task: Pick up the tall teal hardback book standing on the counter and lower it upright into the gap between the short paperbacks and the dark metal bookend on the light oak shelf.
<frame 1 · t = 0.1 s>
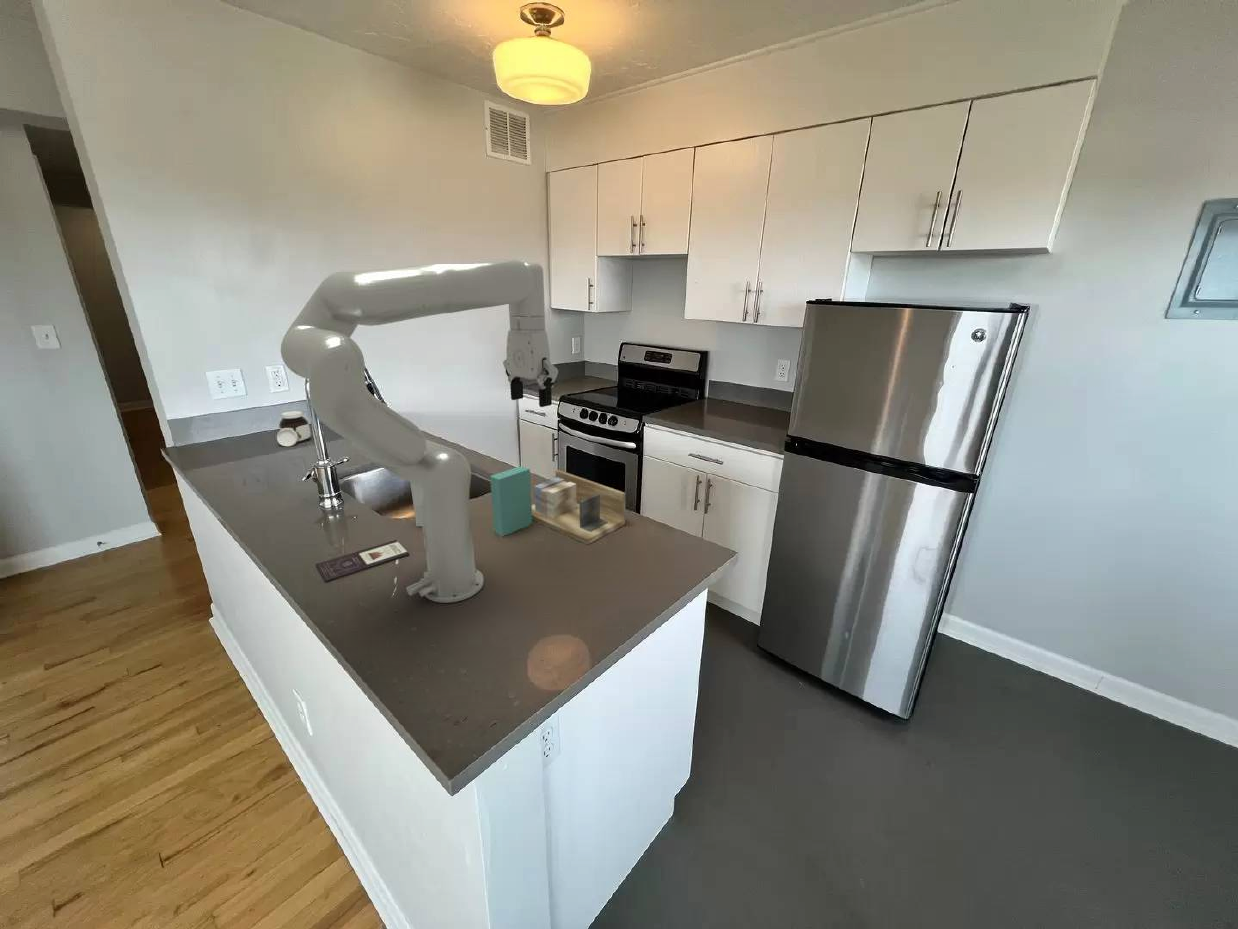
hand: (531, 402, 113), 37 cm above the table, tool pointing down, fingers open, 9 cm apart
spread jar: (295, 443, 200), on the table
shelf: (571, 519, 140), on the table
book: (513, 528, 134), on the table
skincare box: (432, 521, 138), on the table
chocolate bar: (364, 563, 118), on the table
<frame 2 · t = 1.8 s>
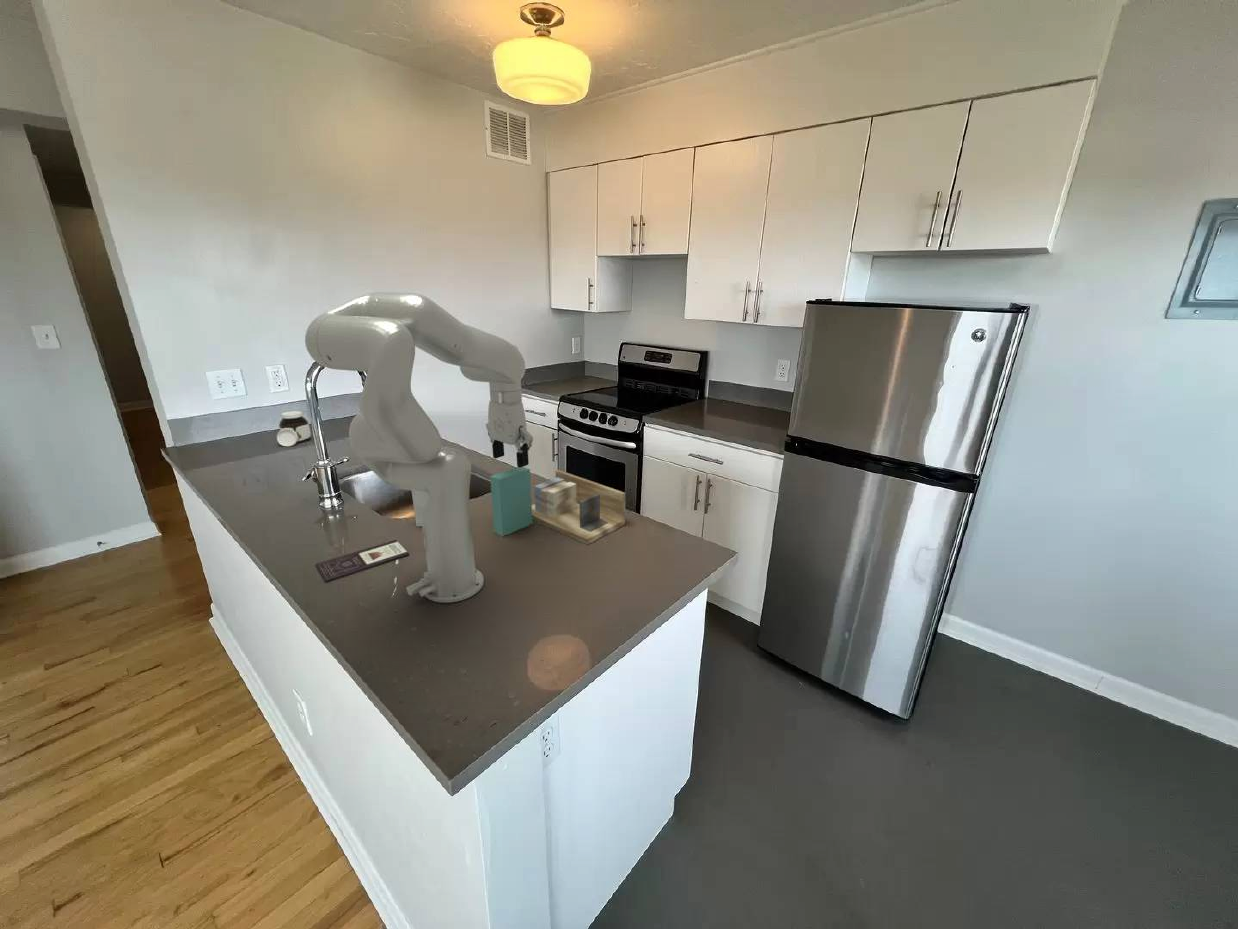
hand: (510, 461, 128), 19 cm above the table, tool pointing down, fingers open, 9 cm apart
nothing on the table moved.
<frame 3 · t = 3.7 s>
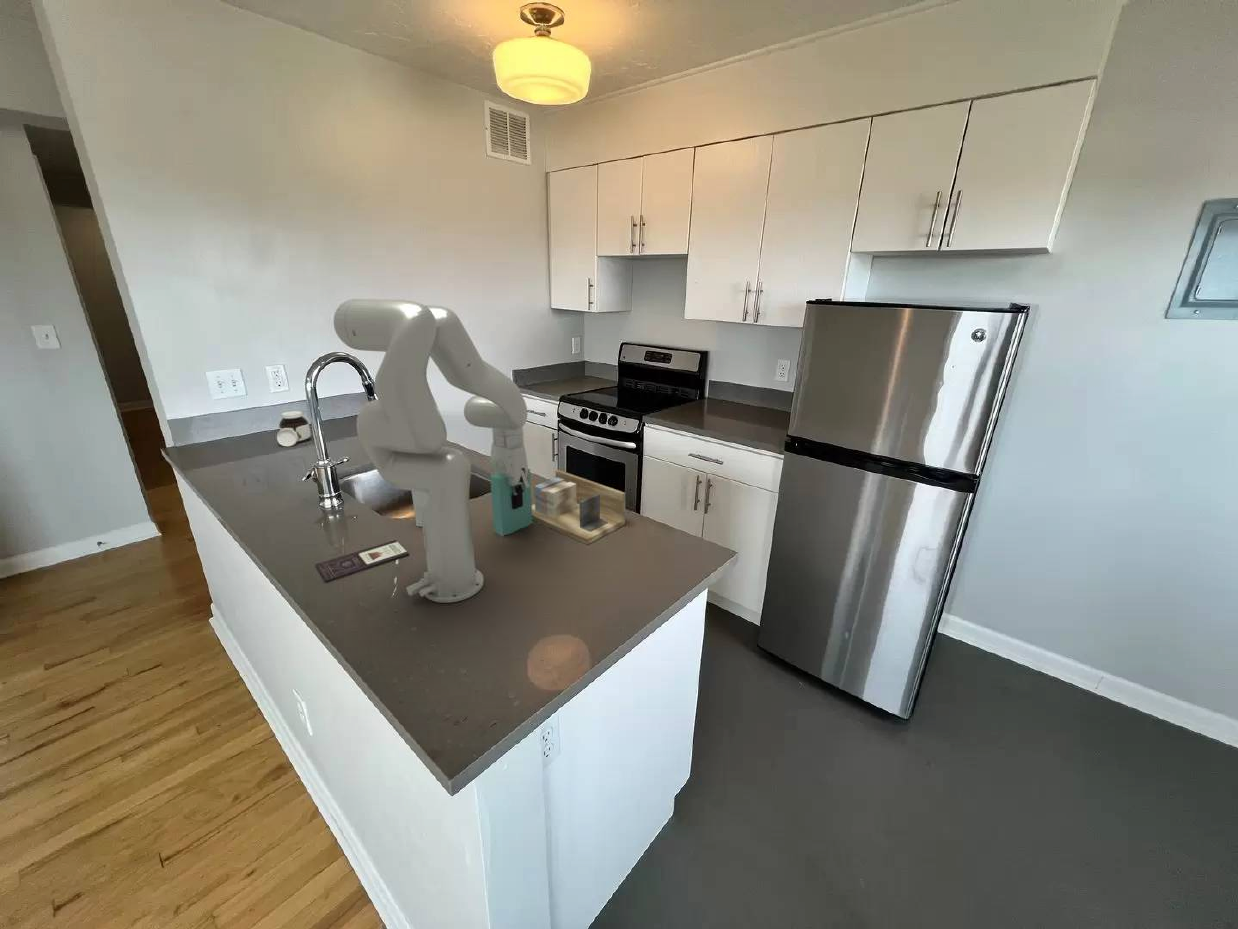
hand: (512, 504, 132), 7 cm above the table, tool pointing down, fingers closed on book, 3 cm apart
book: (513, 528, 134), on the table, touching gripper
everything else where it was.
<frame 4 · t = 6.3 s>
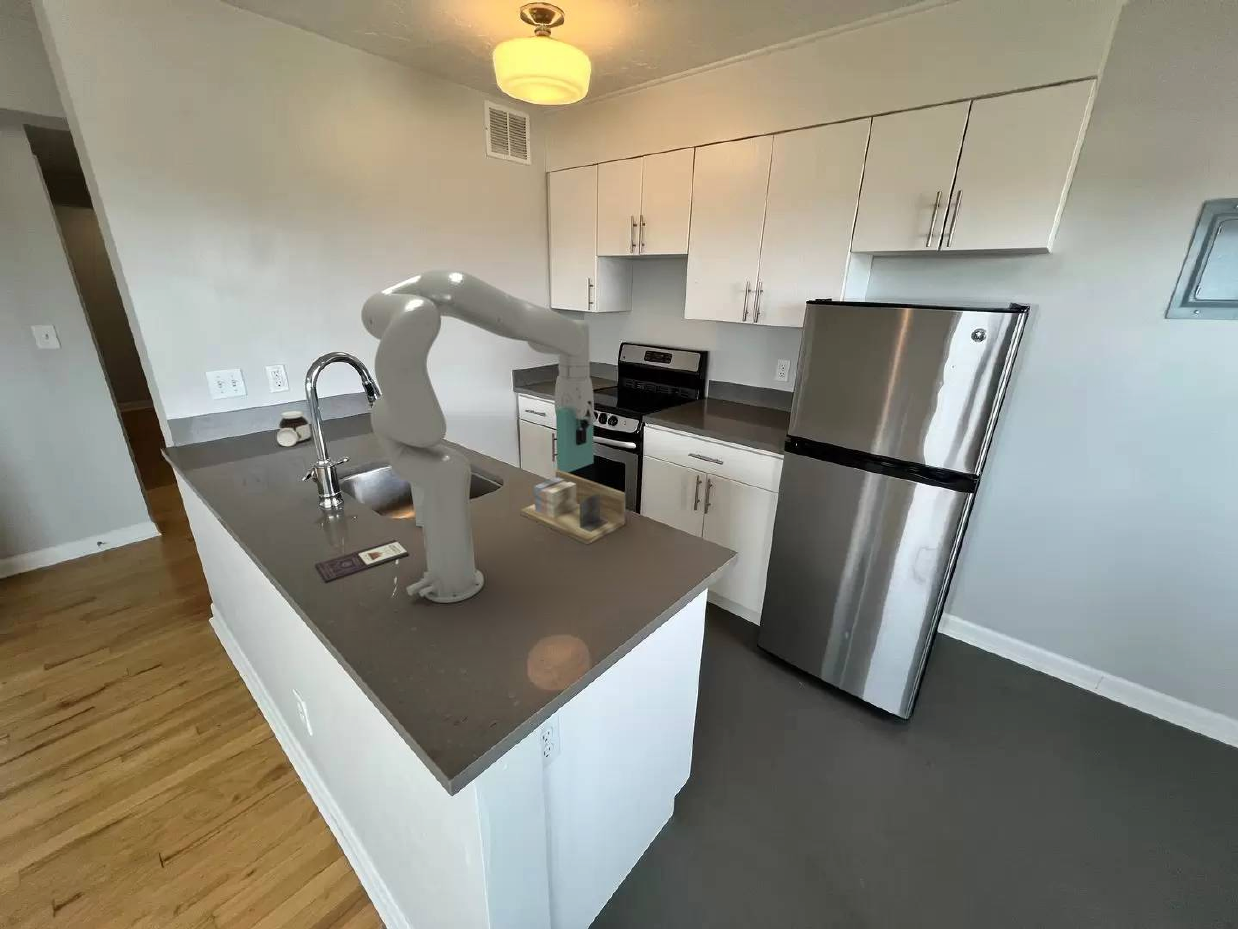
hand: (575, 441, 130), 23 cm above the table, tool pointing down, fingers closed on book, 3 cm apart
book: (575, 466, 132), point 17 cm above the table, touching gripper
everything else where it was.
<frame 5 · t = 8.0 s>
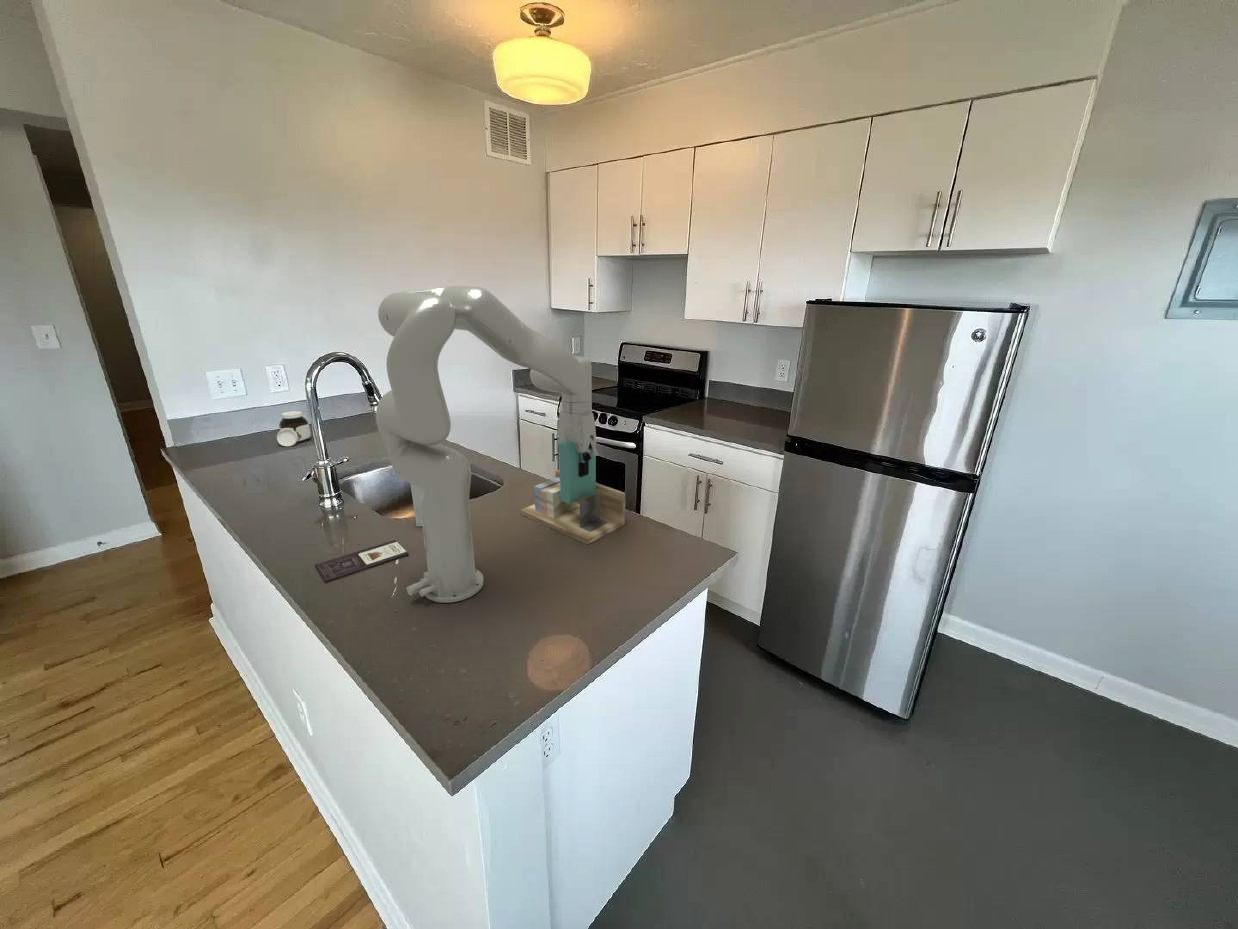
hand: (578, 473, 133), 15 cm above the table, tool pointing down, fingers closed on book, 3 cm apart
book: (578, 496, 136), point 8 cm above the table, touching gripper
everything else where it was.
when the fingers open (9 cm above the table, at t = 9.3 s): book stays where it is, resting on shelf.
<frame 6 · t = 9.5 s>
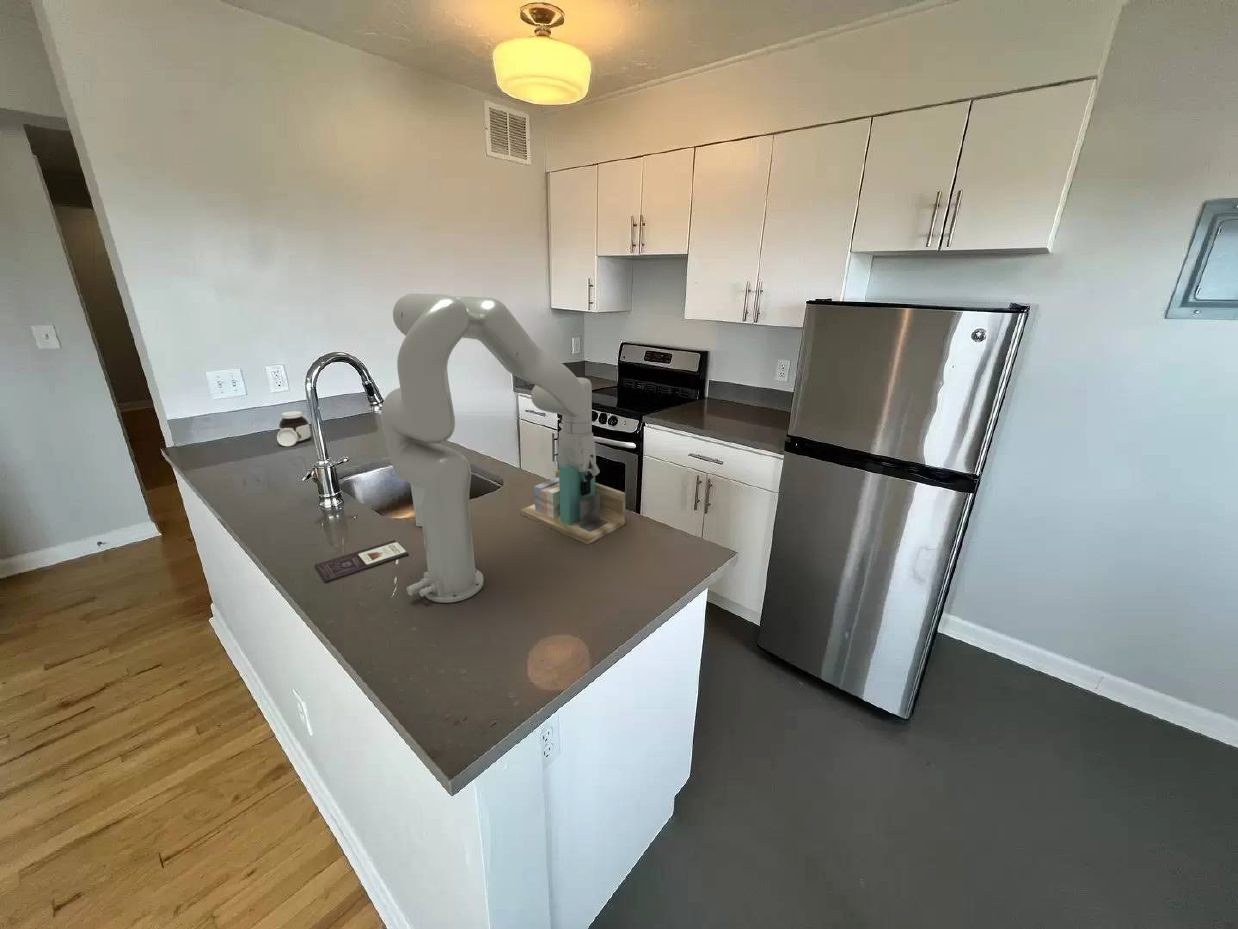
hand: (577, 490, 135), 10 cm above the table, tool pointing down, fingers open, 5 cm apart
book: (578, 517, 138), point 1 cm above the table, touching shelf
everything else where it was.
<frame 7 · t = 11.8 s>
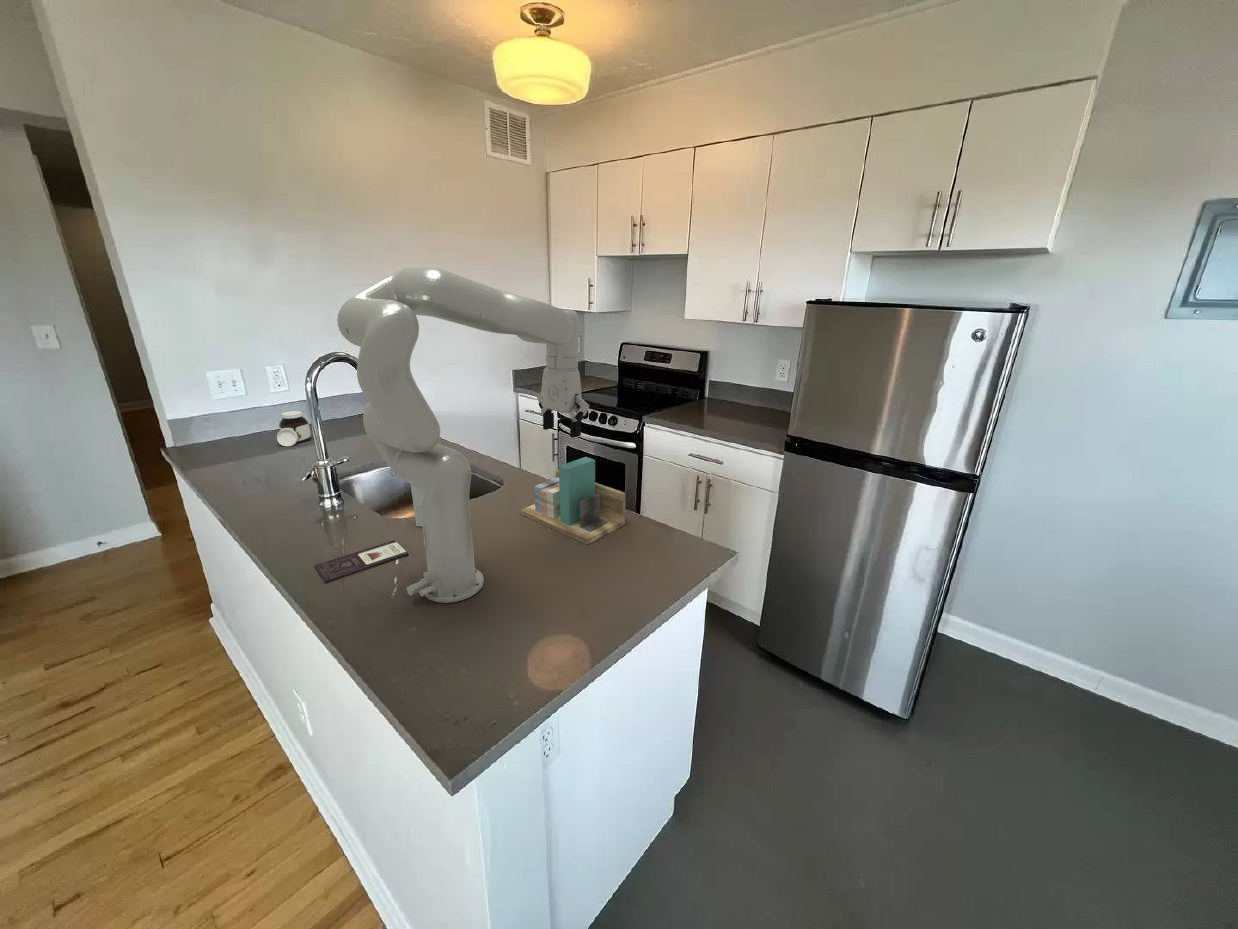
hand: (561, 432, 125), 27 cm above the table, tool pointing down, fingers open, 9 cm apart
nothing on the table moved.
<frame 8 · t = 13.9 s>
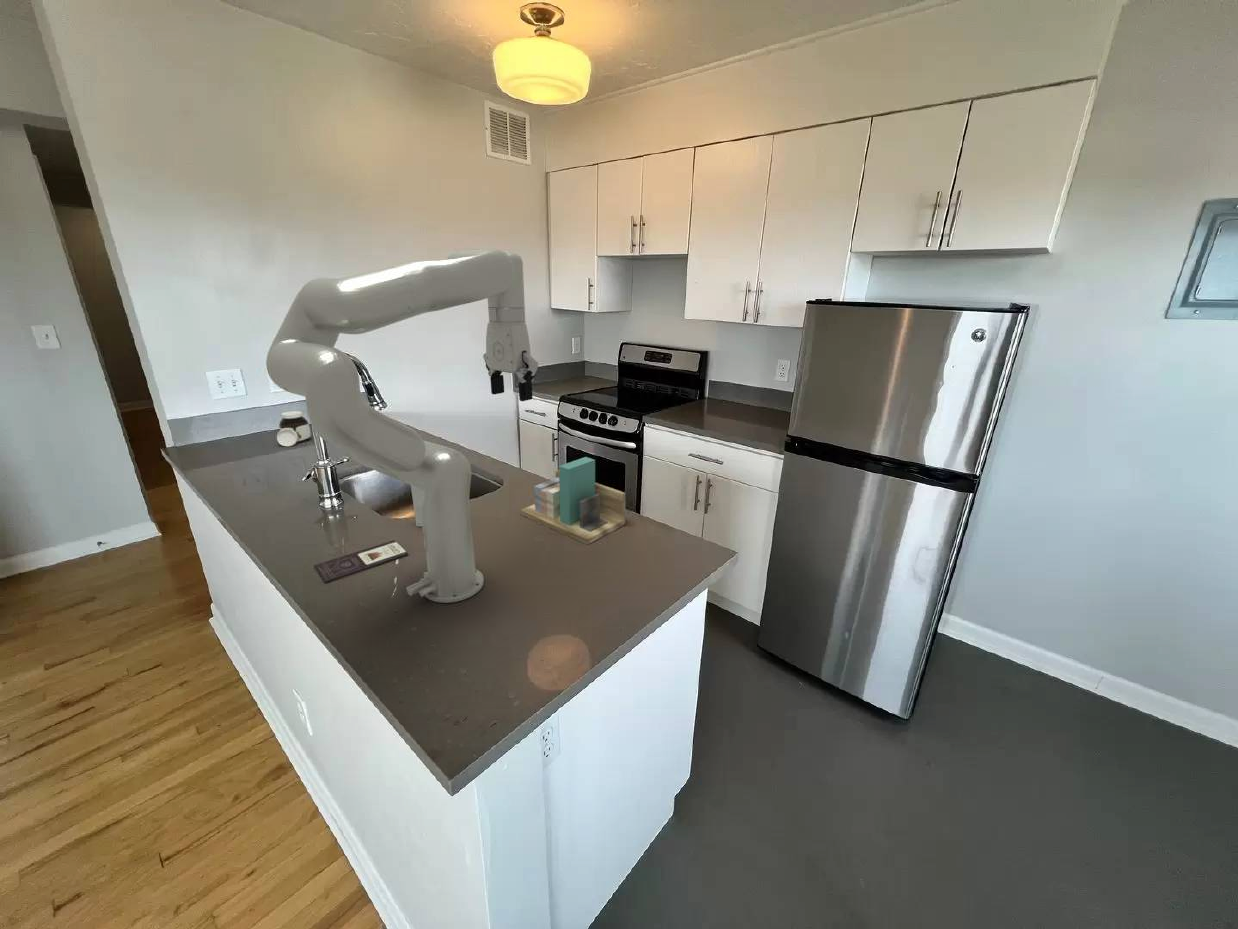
hand: (511, 396, 111), 38 cm above the table, tool pointing down, fingers open, 9 cm apart
nothing on the table moved.
at the end: book 0.1 cm from the target spot on the shelf, point 1.5 cm above the shelf's base; book tilted 0°; the gripper is holding nothing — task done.
